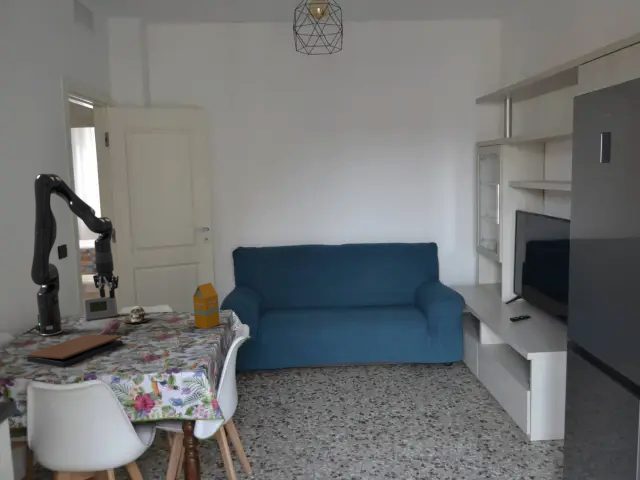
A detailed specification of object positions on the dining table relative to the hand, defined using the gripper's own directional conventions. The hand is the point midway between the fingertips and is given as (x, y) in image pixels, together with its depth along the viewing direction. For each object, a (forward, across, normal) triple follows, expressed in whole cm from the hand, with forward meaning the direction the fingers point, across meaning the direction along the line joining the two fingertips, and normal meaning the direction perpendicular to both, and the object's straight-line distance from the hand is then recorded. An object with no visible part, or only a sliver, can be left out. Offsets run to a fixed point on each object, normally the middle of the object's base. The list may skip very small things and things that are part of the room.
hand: (107, 297), depth 259 cm
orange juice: (+18, -35, -27) cm, 47 cm away
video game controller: (+18, 0, 0) cm, 18 cm away
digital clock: (+18, +30, -22) cm, 41 cm away
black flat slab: (+17, -7, +25) cm, 31 cm away
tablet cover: (+15, -7, +25) cm, 30 cm away
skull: (+18, +5, -22) cm, 29 cm away
